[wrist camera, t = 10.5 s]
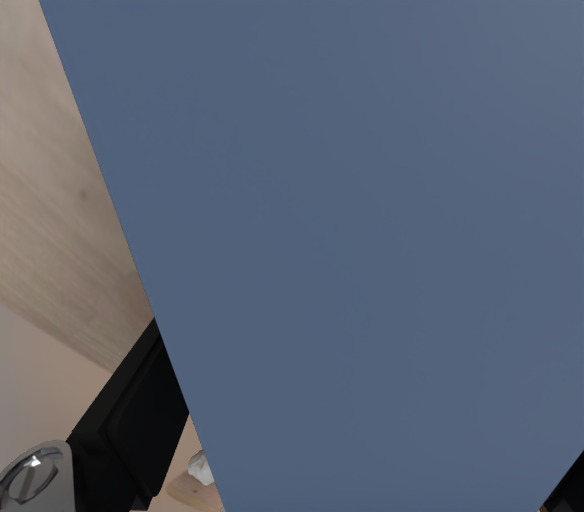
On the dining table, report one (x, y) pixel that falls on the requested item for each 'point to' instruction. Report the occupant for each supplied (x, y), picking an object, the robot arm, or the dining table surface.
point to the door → (353, 236)
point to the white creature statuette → (201, 470)
